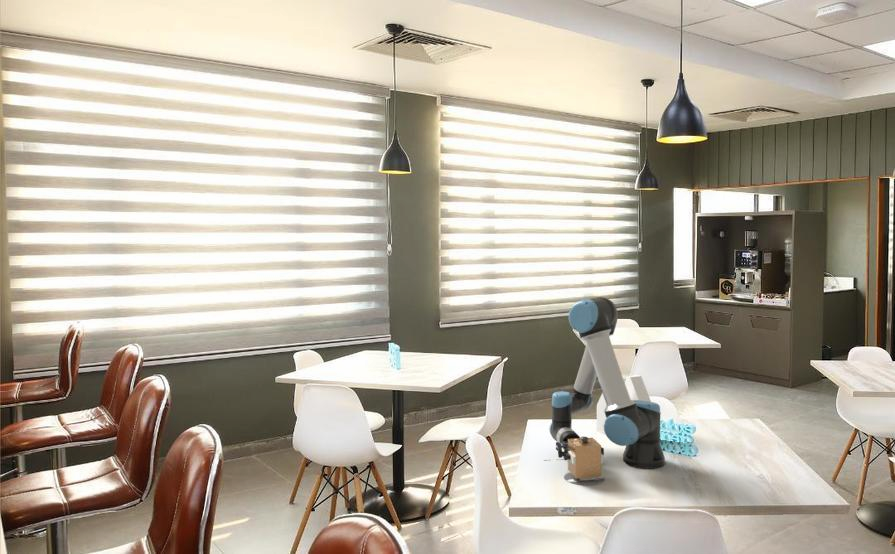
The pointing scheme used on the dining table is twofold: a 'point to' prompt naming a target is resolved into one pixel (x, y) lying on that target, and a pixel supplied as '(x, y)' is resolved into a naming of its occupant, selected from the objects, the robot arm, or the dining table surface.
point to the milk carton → (635, 392)
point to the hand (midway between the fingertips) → (588, 460)
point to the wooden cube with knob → (585, 457)
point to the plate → (573, 480)
